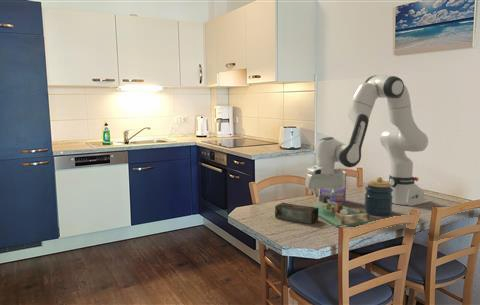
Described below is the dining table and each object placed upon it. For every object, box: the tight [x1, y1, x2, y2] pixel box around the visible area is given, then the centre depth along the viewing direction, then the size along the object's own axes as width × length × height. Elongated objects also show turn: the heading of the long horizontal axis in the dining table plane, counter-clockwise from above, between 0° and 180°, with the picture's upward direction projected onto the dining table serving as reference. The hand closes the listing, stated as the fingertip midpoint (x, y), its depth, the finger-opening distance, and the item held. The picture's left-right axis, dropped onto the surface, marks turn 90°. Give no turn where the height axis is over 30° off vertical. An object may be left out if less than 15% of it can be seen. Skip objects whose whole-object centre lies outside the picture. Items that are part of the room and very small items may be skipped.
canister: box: [363, 176, 393, 217], centre depth 196 cm, size 13×13×18 cm
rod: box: [318, 194, 344, 213], centre depth 198 cm, size 17×3×5 cm, turn 18°
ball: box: [340, 209, 348, 216], centre depth 187 cm, size 4×4×4 cm
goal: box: [335, 209, 370, 224], centre depth 181 cm, size 14×6×4 cm, turn 108°
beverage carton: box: [274, 202, 319, 225], centre depth 186 cm, size 8×19×7 cm, turn 57°
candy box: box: [318, 170, 347, 203], centre depth 218 cm, size 14×6×16 cm, turn 80°
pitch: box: [309, 203, 376, 228], centre depth 191 cm, size 20×30×3 cm, turn 18°
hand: (323, 196), depth 203 cm, fingers open, 8 cm apart
